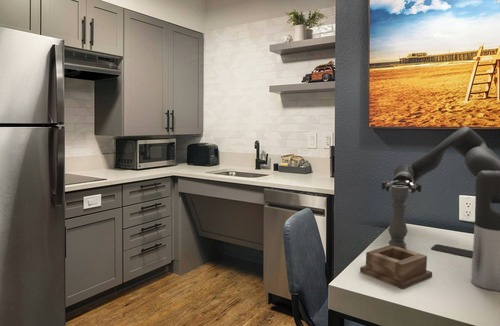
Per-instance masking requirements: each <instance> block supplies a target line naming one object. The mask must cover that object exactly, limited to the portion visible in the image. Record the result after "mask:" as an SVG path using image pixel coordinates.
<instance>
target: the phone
mask: <svg viewBox="0 0 500 326" xmlns="http://www.w3.org/2000/svg"><path fill="white" fill-rule="evenodd" d="M430 250H432V251H435V252H440V253H444V254H450V255H453V256H459V257H463V258H469V259H473V250H471V249H470V250H469V249H465V248H460V247H455V246H448V245H444V244H440V243H438V244H434V245H432V247H431V248H430Z"/></svg>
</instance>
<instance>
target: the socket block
mask: <svg viewBox="0 0 500 326" xmlns="http://www.w3.org/2000/svg"><path fill="white" fill-rule="evenodd" d="M427 263H428V255H425V254H423V253H420V252H416V251H412V250H409V249H407V250H406V249H403V248H400V247H397V246H393V245H389V244H388V245H386V246H382V247H378V248H375V249H373V250H369V251H366V253H365V265H363V266H360V268H359V273H362V274H365V275H367V276H370V277H371V278H375V279H376V280H379V281H381V282H382V281H383V282H385V283H387V284H389V285H391V286H394V287H396V288H400V289H402V290H404V289H406V288H409V287H411V286H413V285H416V284H418V283H420V282H422V281H425V280H427V279H430V278H432V277H433V271H432V270H431V271H430V270H428V269H427V265H428V264H427Z"/></svg>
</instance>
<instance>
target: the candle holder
mask: <svg viewBox="0 0 500 326" xmlns="http://www.w3.org/2000/svg"><path fill="white" fill-rule="evenodd" d="M408 189H409V187H408V186H402V185H392V186H391V190H390V196H391V200H392V202H391V203H390V205H391V206H392V216H391V219H390V223H389V227H388V234H389V235H390V238H391V239H390V240H389V241H388V246H389V245H393V246H397V247H400V248H403V249H406V250H408V249H407V247H406V246H407V244H406V242H405V237H406V236H407V235H408V228H407V227H408V226H407V223H406V217H405V216H406V215H405V214H406V213H405V209H406V207H408V204H407V203H406V201H407V200H408V197H409V191H408Z"/></svg>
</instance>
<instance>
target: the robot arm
mask: <svg viewBox="0 0 500 326" xmlns="http://www.w3.org/2000/svg"><path fill="white" fill-rule="evenodd" d="M450 148H453V149H454V150H455V151H457V153H459V155H460V156H462V157H463V158H464V163H465V166H466V168H467V169H468V171H469V172H470V174H472V176H474V177H475V178H476V179H475V194H474V195H475V196H474V197H475V203H474V204H475V206H474V230H473V231H474V232H473V245H472V246H473V248H472V251H473V259H472V258H471V259H472V260H471V261H472V263H471V273H470V274H471V277H470V278H471V279H470V281H471V283H472V284H473V285H475V286H476V287H480V288H483V289H484V290H485V289H486V290H490V291H495V292H496V291H497V292H500V212H497V211H496V210H495V209H493V208H492V207H491V204H498V205H499V204H500V157H499V156H498V155H497V154H496V153H495V152H494V151H493V150H492V149H491V148H489V147H488V146H487V144H486V141H485V140H484V139H483V137H482V136H480V135H479V134H478V133H477V132H476V131H474V130H473V129H472V128H471V127H469V126H463V127H461V128H459V129H457V130H456V131H455V132H453V133H451V134H450V135H449V136H448V137H447V138H445V139H444V140H443V141H441V142H440V143H439V144H438V145H437V146H435V147H434V148H433V149H432V150H430V151H429V152H428V153H426V154H425V155H423V156H421V157H420V158H417V159H416V160H415V161H413V162H412V163H411V167H410V165H408V164H407V163H406V164H405V163H401V164H399V165H398V166H396V167H395V168H394V171H393V175H394V178H393V180H391V181H390V182H389V181H388V180H386V179H385V180H383V181H381V189H382V190H385V191H386V192H390V191H391V186H392V185H402V186H408V187H409V189H408V193H410V192H411V194H414V193H416V192H417V193H418V192H419V193H421V192H422V183H421V182H418V181H419V180H420V179H421V178H422V177H424V176H425V175H426V174H429V173H431V172H432V171H434V170H436V169H437V168H438V167H439V166H440V164H441V162H442V160H443V158H444V155H445V153H446V151H447V150H448V149H450Z"/></svg>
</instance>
